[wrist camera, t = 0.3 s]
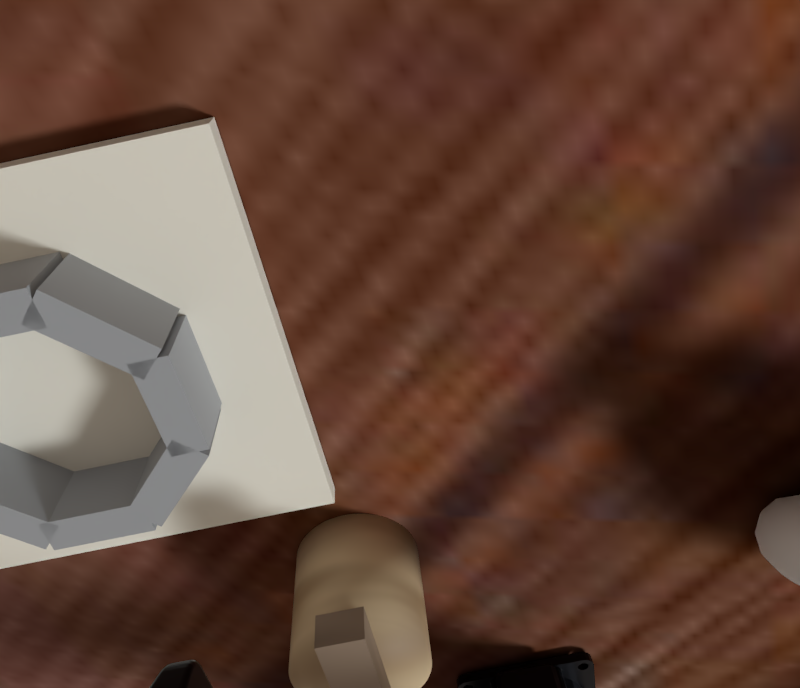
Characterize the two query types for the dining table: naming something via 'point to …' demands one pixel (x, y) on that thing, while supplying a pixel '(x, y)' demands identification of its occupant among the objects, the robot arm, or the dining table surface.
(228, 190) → the socket board
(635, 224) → the dining table surface
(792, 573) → the white curved piece
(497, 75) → the dining table surface
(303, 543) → the rotary grip knob
